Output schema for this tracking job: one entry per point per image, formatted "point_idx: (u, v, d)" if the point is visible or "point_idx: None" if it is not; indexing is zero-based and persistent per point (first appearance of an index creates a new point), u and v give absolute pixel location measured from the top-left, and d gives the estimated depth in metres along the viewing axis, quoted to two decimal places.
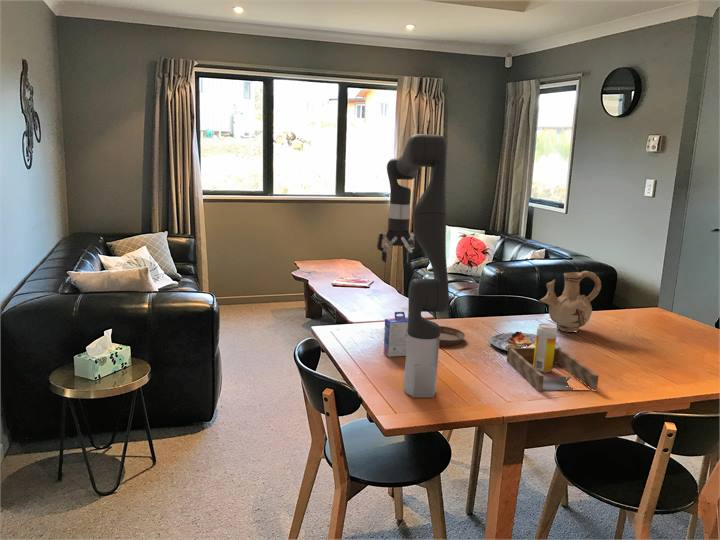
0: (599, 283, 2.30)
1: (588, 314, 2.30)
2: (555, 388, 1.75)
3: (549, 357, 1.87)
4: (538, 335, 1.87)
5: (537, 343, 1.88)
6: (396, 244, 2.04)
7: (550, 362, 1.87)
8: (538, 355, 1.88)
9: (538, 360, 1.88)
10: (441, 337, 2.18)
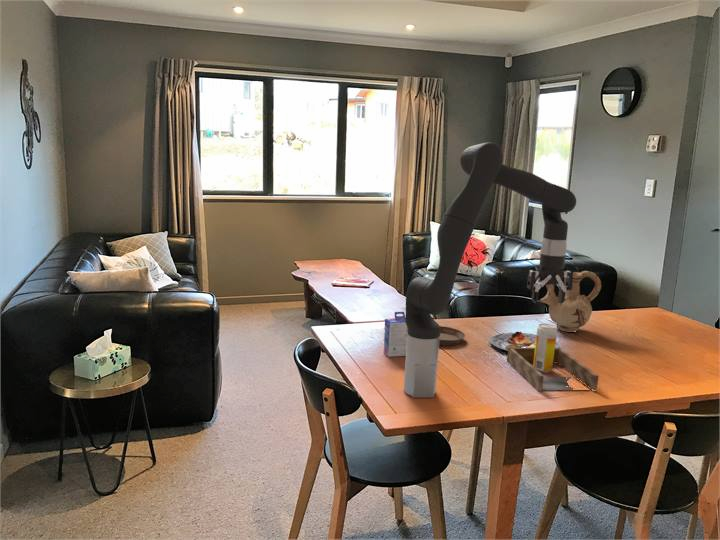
0: (599, 283, 2.30)
1: (588, 314, 2.30)
2: (555, 388, 1.75)
3: (549, 357, 1.87)
4: (538, 335, 1.87)
5: (537, 343, 1.88)
6: (549, 283, 1.84)
7: (550, 362, 1.87)
8: (538, 355, 1.88)
9: (538, 360, 1.88)
10: (441, 337, 2.18)
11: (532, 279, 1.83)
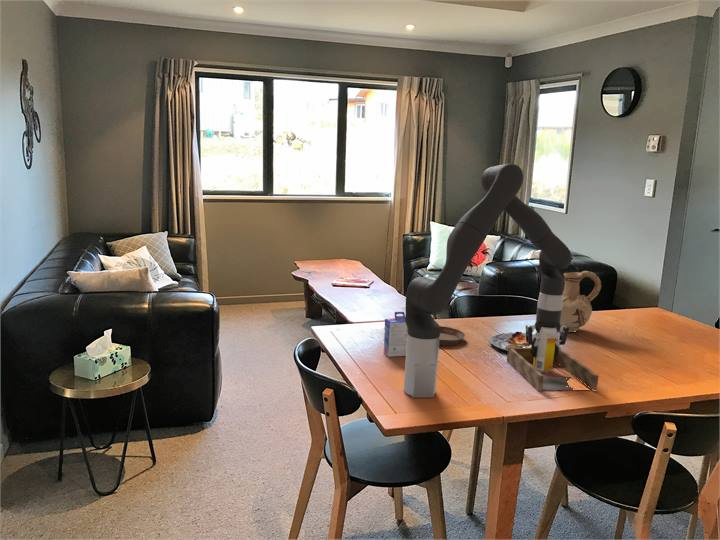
0: (599, 283, 2.30)
1: (588, 314, 2.30)
2: (555, 388, 1.75)
3: (549, 357, 1.87)
4: (538, 335, 1.87)
5: None
6: None
7: (550, 362, 1.87)
8: (538, 355, 1.88)
9: (538, 360, 1.88)
10: (441, 337, 2.18)
11: (530, 334, 1.86)
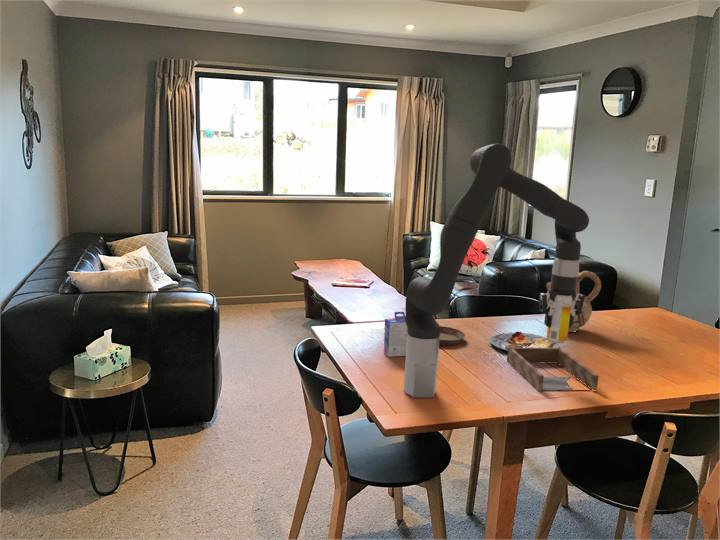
0: (599, 283, 2.30)
1: (588, 314, 2.30)
2: (555, 388, 1.75)
3: (564, 327, 1.77)
4: (553, 303, 1.77)
5: None
6: None
7: (565, 332, 1.77)
8: (553, 325, 1.77)
9: (552, 330, 1.78)
10: (441, 337, 2.18)
11: (544, 302, 1.76)
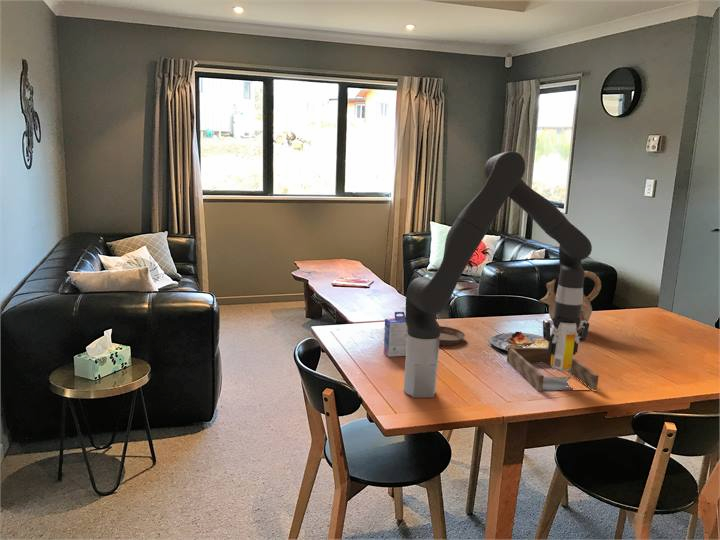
0: (599, 283, 2.30)
1: (588, 314, 2.30)
2: (555, 388, 1.75)
3: (569, 354, 1.74)
4: (556, 331, 1.75)
5: None
6: None
7: (569, 360, 1.75)
8: (557, 353, 1.75)
9: (556, 358, 1.75)
10: (441, 337, 2.18)
11: (547, 330, 1.74)
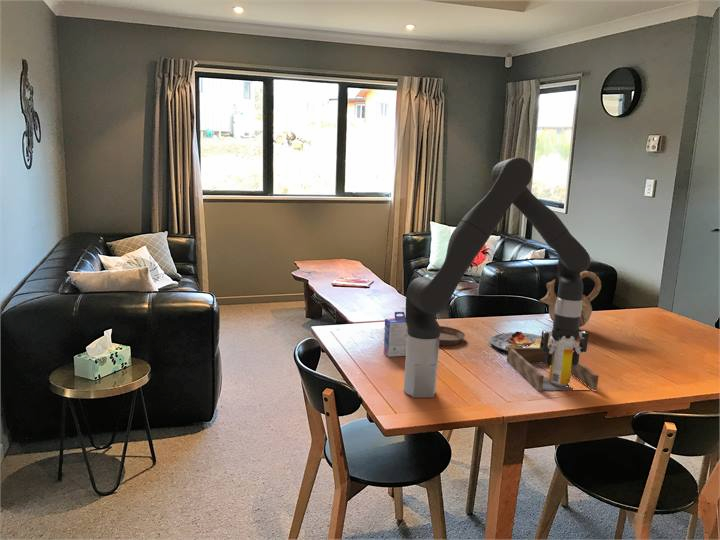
0: (599, 283, 2.30)
1: (588, 314, 2.30)
2: (555, 388, 1.75)
3: (566, 369, 1.75)
4: None
5: (553, 354, 1.76)
6: None
7: (567, 375, 1.76)
8: (555, 368, 1.76)
9: (554, 372, 1.76)
10: (441, 337, 2.18)
11: (545, 341, 1.74)
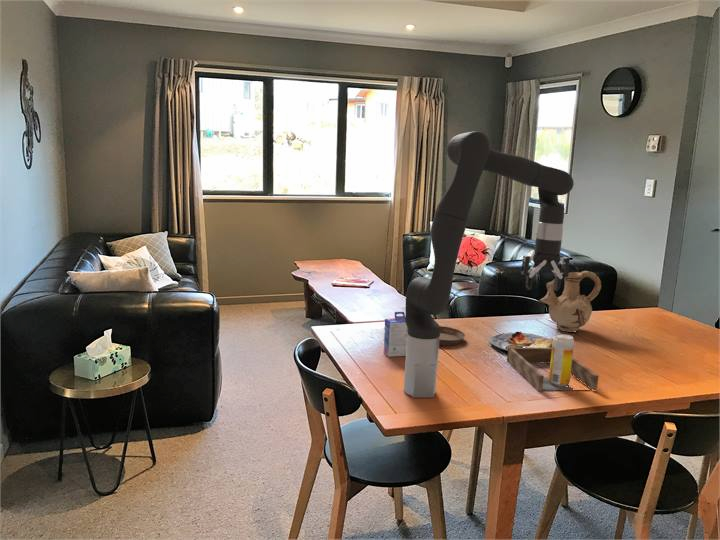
0: (599, 283, 2.30)
1: (588, 314, 2.30)
2: (555, 388, 1.75)
3: (566, 370, 1.75)
4: (554, 346, 1.76)
5: (553, 355, 1.76)
6: (544, 269, 1.77)
7: (567, 375, 1.75)
8: (555, 368, 1.76)
9: (554, 373, 1.76)
10: (441, 337, 2.18)
11: (526, 264, 1.76)
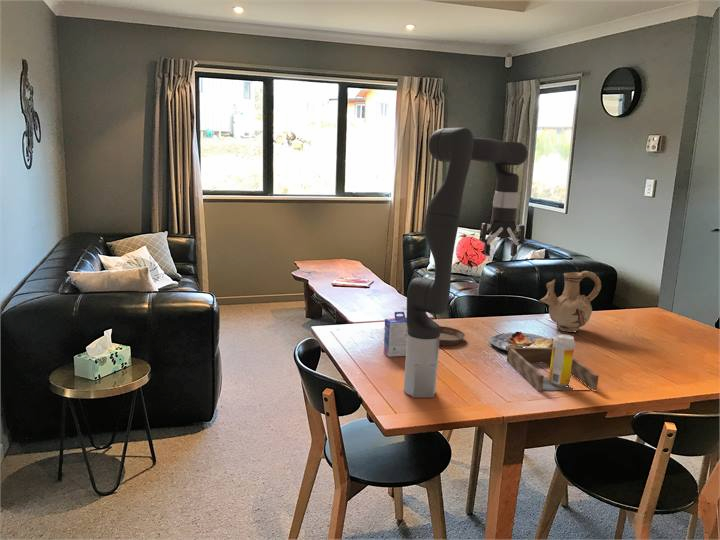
0: (599, 283, 2.30)
1: (588, 314, 2.30)
2: (555, 388, 1.75)
3: (566, 370, 1.75)
4: (555, 346, 1.76)
5: (553, 355, 1.76)
6: (501, 236, 1.87)
7: (567, 375, 1.75)
8: (555, 368, 1.76)
9: (554, 373, 1.76)
10: (441, 337, 2.18)
11: (484, 231, 1.86)
